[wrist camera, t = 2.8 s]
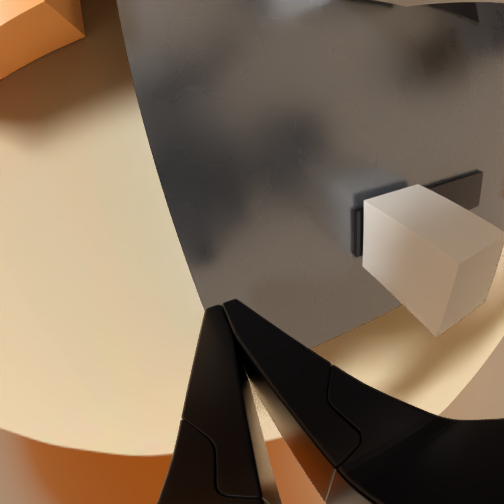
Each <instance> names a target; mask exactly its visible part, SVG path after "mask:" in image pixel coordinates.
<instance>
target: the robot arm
mask: <svg viewBox="0 0 504 504" xmlns="http://www.w3.org/2000/svg"><path fill="white" fill-rule="evenodd" d="M244 368H245V369H244ZM246 373H247V374H246ZM247 376H248V377H247ZM248 378H249V380H250V382H251V384H252V386H253V388H254V389H255V391H256V393H257V395H258V396H259V398H260V400H261V401H262V403H263V405H264V407H265V408H266V410H267V412H268V413H269V415H270V417H271V418H272V420H273V422H274V423H275V425H276V427H277V428H278V430H279V432H280V433H281V435H282V437H283V438H284V440H285V441H286V443H287V445H288V446H289V448H290V450H291V451H292V453H293V454H294V456H295V457H296V459H297V461H298V462H299V464H300V465H301V467H302V468H303V470H304V471H305V473H306V474H307V476H308V478H309V479H310V481H311V482H312V484H313V485H314V487H315V488H316V490H317V491H318V492H319V494H320V495H321V497H322V498H323V500H324V501H325V502H326V504H504V418H501V419H484V420H483V419H482V420H456V419H450V418H445V417H441V416H437V415H435V414H432V413H429V412H427V411H424V410H422V409H420V408H417V407H415V406H412V405H410V404H408V403H405V402H403V401H401V400H399V399H396V398H394V397H392V396H389V395H387V394H385V393H383V392H381V391H379V390H377V389H375V388H373V387H371V386H368V385H366V384H364V383H363V382H361V381H359V380H358V379H356V378H354V377H353V376H351V375H349V374H347V373H346V372H344V371H343V370H341V369H340V368H338V367H337V366H335V365H332V366H331V363H330V362H329V361H327V360H326V359H324V358H322V357H321V356H319V355H318V354H316V353H315V352H313V351H312V350H310V349H309V348H307V347H306V346H304V345H303V344H301V343H300V342H298V341H297V340H295V339H294V338H292V337H291V336H290V335H288V334H287V333H285V332H284V331H282V330H281V329H279V328H278V327H276V326H275V325H273V324H272V323H271V322H269V321H268V320H266V319H265V318H263V317H262V316H261V315H259V314H258V313H256V312H255V311H253V310H252V309H251V308H249V307H248V306H246V305H245V304H244V303H242V302H241V301H239V300H238V299H233V300H230V301H227V302H224V303H223V304H222V306H221V305H220V304H218V305H215V306H212V307H209V308H207V309H206V310H205V313H204V317H203V321H202V326H201V330H200V334H199V339H198V343H197V347H196V352H195V356H194V361H193V365H192V370H191V374H190V379H189V384H188V388H187V393H186V398H185V402H184V407H183V412H182V419H183V420H181V421H180V426H179V431H178V436H177V440H176V444H175V449H174V453H173V457H172V460H171V463H170V466H169V470H168V473H167V476H166V479H165V482H164V485H163V488H162V491H161V494H160V497H159V500H158V503H157V504H282V503H281V499H280V496H279V492H278V489H277V485H276V482H275V478H274V475H273V471H272V467H271V464H270V460H269V456H268V453H267V449H266V445H265V441H264V438H263V434H262V430H261V426H260V422H259V418H258V415H257V411H256V407H255V403H254V399H253V395H252V391H251V387H250V383H249V380H248Z"/></svg>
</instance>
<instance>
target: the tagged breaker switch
mask: <svg viewBox="0 0 504 504" xmlns="http://www.w3.org/2000/svg"><path fill="white" fill-rule="evenodd" d="M503 245H504V231H502V230H500V229H499V228H497V227H496V226H494V225H492V224H491V223H489V222H487V221H486V220H484V219H482V218H481V217H479V216H477V215H476V214H474V213H472V212H470V211H469V210H467V209H465V208H463V207H462V206H460V205H458V204H456V203H454V202H452V201H451V200H449V199H447V198H445V197H443V196H441V195H439V194H437V193H435V192H433V191H431V190H429V189H427V188H425V187H423V186H421V185H419V184H417V185H413V186H410V187H407V188H403V189H400V190H396V191H393V192H390V193H386V194H383V195H380V196H376V197H373V198H370V199H366V200H364V234H363V264H362V266H363V267H364V268H365V269H366V270H367V271H368V272H369V273H370V274H371V275H372V276H373V277H375V278H376V279H377V280H378V281H379V282H380V283H381V284H382V285H383V286H384V287H385V288H386V289H387V290H388V291H389V292H390V293H391V294H392V295H394V296H395V297H396V298H397V299H398V300H399V301H400V302H401V303H402V304H403V305H404V306H405V307H406V308H407V309H408V310H409V311H410V312H411V313H412V314H413V315H414V316H415V317H416V318H417V319H418V320H419V321H420V322H421V323H422V324H423V325H424V326H425V327H426V328H427V329H428V330H429V331H430V332H431V333H432V334H433V335H434V336H435V337H438V336H439V335H440V334H442V333H443V332H445V331H446V330H448V329H449V328H450V327H452V326H453V325H455V324H456V323H457V322H459V321H460V320H461V319H463V318H464V317H465V316H467V315H468V314H469V313H471V312H472V311H473V310H475V309H476V308H477V307H478V306H480V305H481V304H482V303H483V302H485V300H486V297H487V294H488V292H489V289H490V286H491V283H492V281H493V278H494V275H495V272H496V269H497V266H498V262H499V259H500V256H501V252H502V249H503Z"/></svg>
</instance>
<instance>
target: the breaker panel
mask: <svg viewBox="0 0 504 504" xmlns="http://www.w3.org/2000/svg"><path fill="white" fill-rule="evenodd" d="M116 1H117V6H118V12H119V18H120V23H121V28H122V33H123V38H124V43H125V48H126V52H127V57H128V61H129V66H130V70H131V75H132V79H133V83H134V87H135V91H136V95H137V99H138V103H139V107H140V111H141V115H142V119H143V123H144V126H145V130H146V134H147V137H148V141H149V145H150V148H151V152H152V155H153V159H154V162H155V165H156V169H157V172H158V176H159V179H160V182H161V185H162V189H163V192H164V195H165V198H166V202H167V205H168V208H169V211H170V214H171V217H172V220H173V223H174V226H175V229H176V232H177V235H178V238H179V241H180V244H181V247H182V250H183V253H184V256H185V258H186V261H187V264H188V267H189V270H190V272H191V275H192V278H193V281H194V283H195V286H196V289H197V292H198V294H199V297H200V300H201V302H202V305H203V308H204V310H206V309H207V308H209V307H212V306H215V305H218V304H220V305H221V306H222V304H223V303H224V302H227V301H230V300H233V299H238V300H239V301H241V302H242V303H244V304H245V305H246V306H248V307H249V308H251V309H252V310H253V311H255V312H256V313H258V314H259V315H261V316H262V317H263V318H265V319H266V320H268V321H269V322H271V323H272V324H273V325H275V326H276V327H278V328H279V329H281V330H282V331H284V332H285V333H287V334H288V335H290V336H291V337H292V338H294V339H295V340H297V341H298V342H300V343H301V344H303V345H304V346H306V347H307V348H309V349H310V348H312V347H314V346H317V345H319V344H321V343H324V342H326V341H328V340H330V339H333V338H335V337H337V336H339V335H342V334H344V333H346V332H348V331H350V330H352V329H354V328H356V327H359V326H361V325H363V324H365V323H367V322H369V321H371V320H373V319H375V318H377V317H379V316H381V315H383V314H385V313H387V312H389V311H391V310H393V309H394V308H396V307H398V306H400V305H402V303H401V302H400V301H399V300H398V299H397V298H396V297H395V296H394V295H392V294H391V293H390V292H389V291H388V290H387V289H386V288H385V287H384V286H383V285H382V284H381V283H380V282H379V281H378V280H377V279H376V278H375V277H373V276H372V275H371V274H370V273H369V272H368V271H367V270H366V269H365V268H364V267H363V266H362V264H363V234H364V200H366V199H370V198H373V197H376V196H380V195H383V194H386V193H390V192H393V191H396V190H400V189H403V188H407V187H410V186H413V185H417V184H419V185H421V186H423V187H425V188H427V189H429V190H431V191H433V192H435V193H437V194H439V195H441V196H443V197H445V198H447V199H449V200H451V201H452V202H454V203H456V204H458V205H460V206H462V207H463V208H465V209H467V210H469V211H470V212H472V213H474V214H476V215H477V216H479V217H481V218H482V219H484V220H486V221H487V222H489V223H491V224H492V225H494V226H496V227H497V228H499V229H500V230H502V231H504V3H495V2H453V3H436V4H425V5H416V6H408V7H405V6H401V5H397V4H392V3H387V2H381V1H376V0H116ZM244 369H245V368H244Z"/></svg>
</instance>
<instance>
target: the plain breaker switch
mask: <svg viewBox="0 0 504 504" xmlns="http://www.w3.org/2000/svg"><path fill="white" fill-rule="evenodd" d="M376 1H381V2H387V3H392V4H397V5H401V6H405V7H408V6H416V5H425V4H436V3H453V2H495V3H504V0H376Z"/></svg>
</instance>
